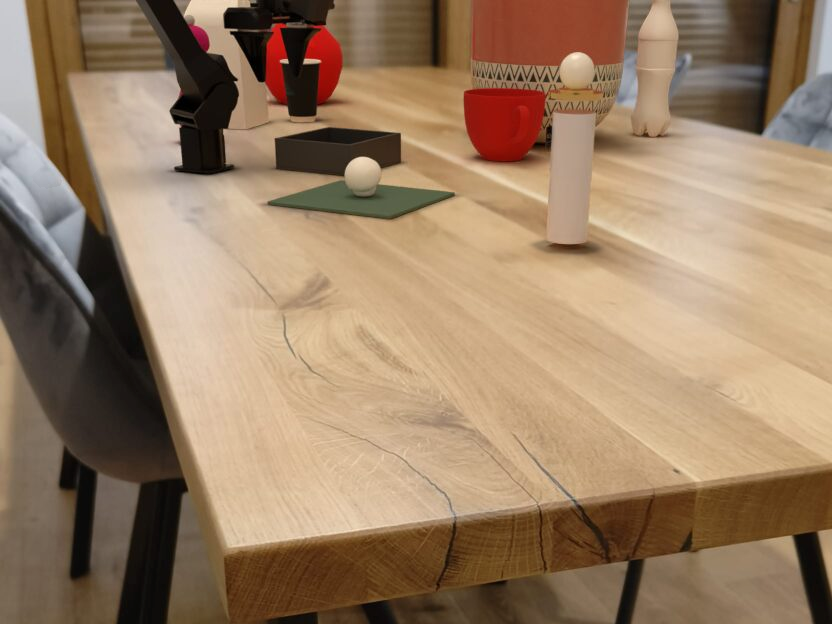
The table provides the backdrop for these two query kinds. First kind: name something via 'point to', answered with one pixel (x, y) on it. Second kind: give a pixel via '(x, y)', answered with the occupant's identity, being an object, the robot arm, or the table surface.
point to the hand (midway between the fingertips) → (279, 79)
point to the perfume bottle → (571, 154)
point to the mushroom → (363, 176)
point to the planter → (548, 48)
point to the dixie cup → (302, 90)
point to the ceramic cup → (503, 121)
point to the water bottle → (655, 70)
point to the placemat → (362, 200)
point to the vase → (318, 48)
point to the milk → (232, 61)
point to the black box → (335, 149)
